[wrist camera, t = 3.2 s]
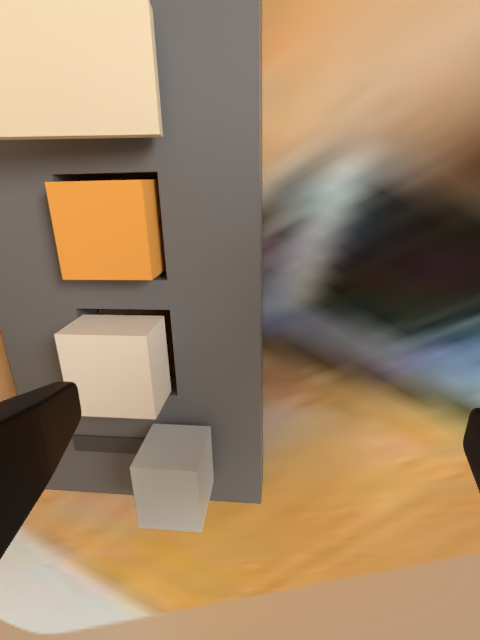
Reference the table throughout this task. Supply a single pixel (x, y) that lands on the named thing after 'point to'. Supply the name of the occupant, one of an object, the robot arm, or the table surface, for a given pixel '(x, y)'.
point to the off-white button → (116, 364)
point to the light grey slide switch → (173, 477)
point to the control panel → (179, 245)
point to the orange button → (107, 229)
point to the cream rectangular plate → (78, 70)
